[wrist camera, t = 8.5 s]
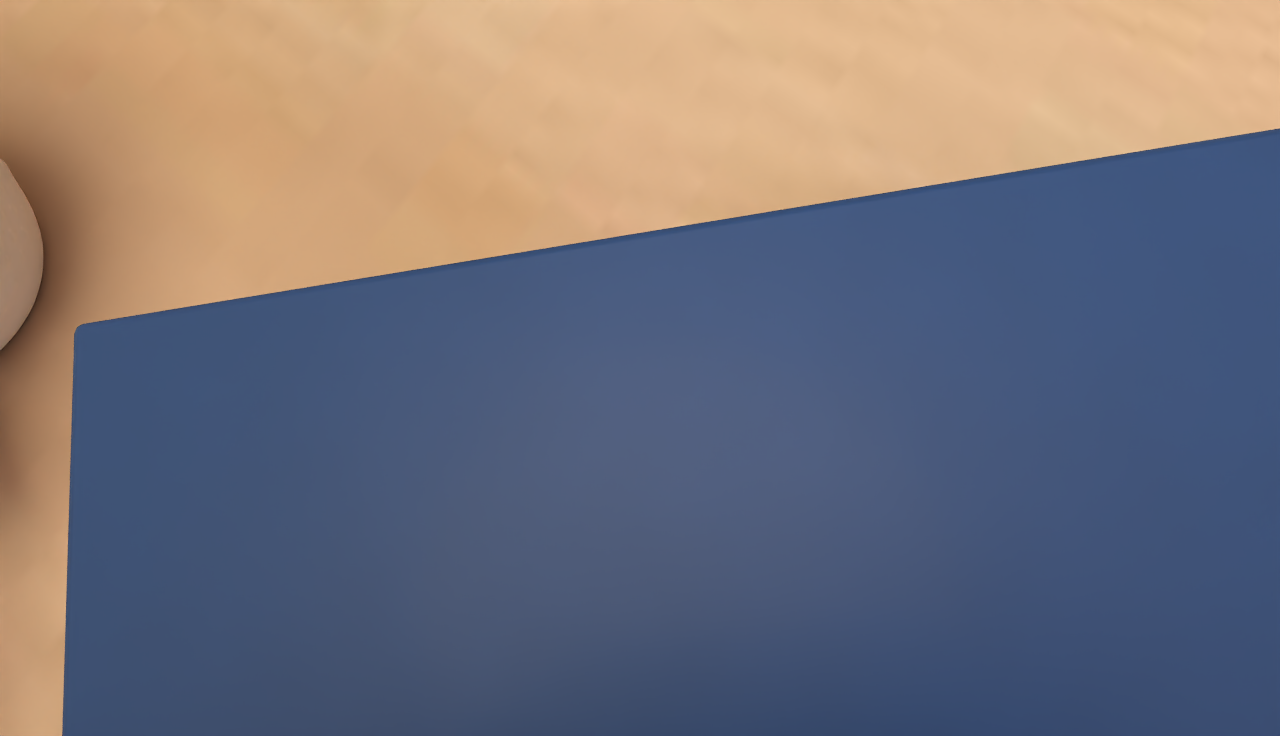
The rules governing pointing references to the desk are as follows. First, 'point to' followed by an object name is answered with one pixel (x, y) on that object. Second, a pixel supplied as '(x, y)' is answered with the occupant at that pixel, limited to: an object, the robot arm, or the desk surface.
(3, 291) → the mug
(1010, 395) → the box
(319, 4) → the desk surface
